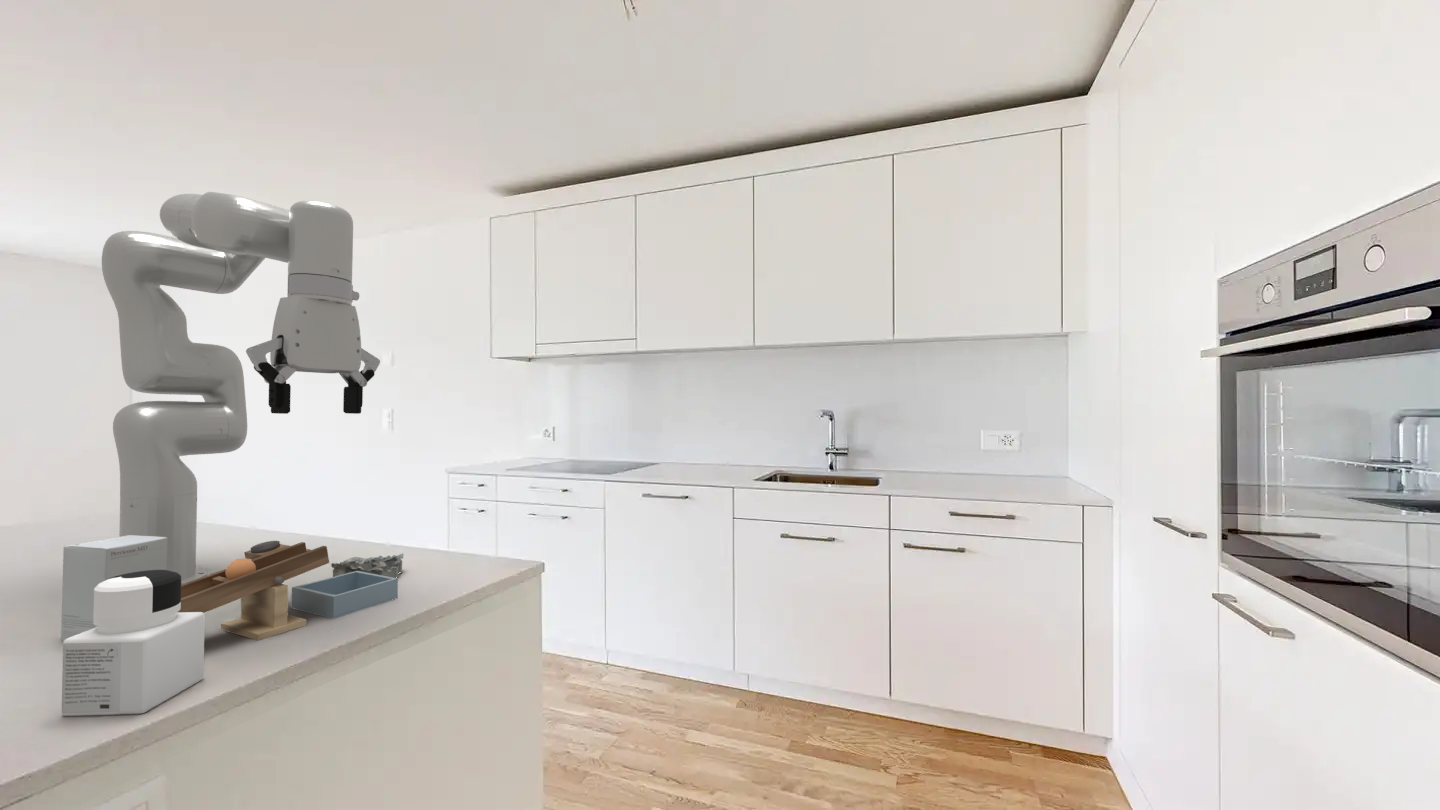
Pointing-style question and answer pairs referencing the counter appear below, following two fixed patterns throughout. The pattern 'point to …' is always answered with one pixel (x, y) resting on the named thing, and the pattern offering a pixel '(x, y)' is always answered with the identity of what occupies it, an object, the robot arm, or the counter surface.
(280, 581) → the lever
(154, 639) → the container
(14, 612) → the counter surface
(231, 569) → the ball
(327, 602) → the dish
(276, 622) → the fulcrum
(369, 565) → the egg carton
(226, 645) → the counter surface
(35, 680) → the counter surface
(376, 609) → the counter surface
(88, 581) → the supplement box
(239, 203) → the robot arm
